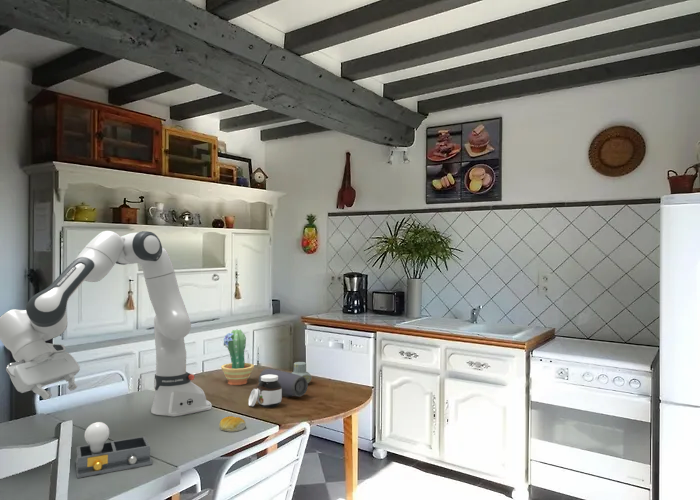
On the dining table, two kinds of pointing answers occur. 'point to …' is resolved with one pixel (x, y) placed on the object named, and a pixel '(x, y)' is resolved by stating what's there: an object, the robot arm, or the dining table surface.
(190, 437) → the dining table surface
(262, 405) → the spread jar
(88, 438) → the lightbulb
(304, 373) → the air freshener
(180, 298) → the robot arm
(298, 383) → the bluetooth speaker
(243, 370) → the potted cactus
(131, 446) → the grey rectangular box
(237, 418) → the bread roll
